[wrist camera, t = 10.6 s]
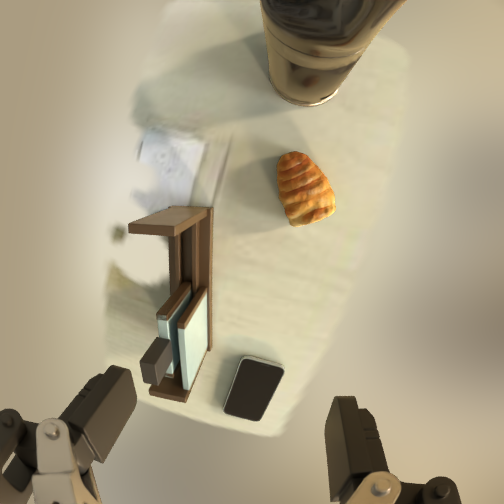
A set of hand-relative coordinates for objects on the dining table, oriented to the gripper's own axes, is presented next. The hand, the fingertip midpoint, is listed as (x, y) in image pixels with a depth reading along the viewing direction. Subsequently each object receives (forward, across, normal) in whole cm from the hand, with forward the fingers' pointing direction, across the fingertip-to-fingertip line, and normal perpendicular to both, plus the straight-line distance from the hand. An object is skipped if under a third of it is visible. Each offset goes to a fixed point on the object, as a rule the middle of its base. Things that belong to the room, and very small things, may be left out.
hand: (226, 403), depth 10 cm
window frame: (+30, +10, +8) cm, 33 cm away
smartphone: (+30, 0, +28) cm, 41 cm away
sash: (+28, +10, +12) cm, 32 cm away
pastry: (+30, -4, -6) cm, 31 cm away
